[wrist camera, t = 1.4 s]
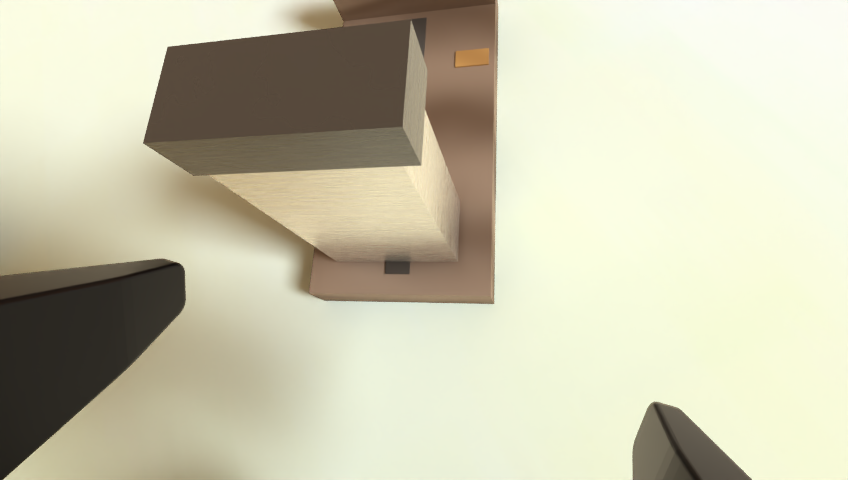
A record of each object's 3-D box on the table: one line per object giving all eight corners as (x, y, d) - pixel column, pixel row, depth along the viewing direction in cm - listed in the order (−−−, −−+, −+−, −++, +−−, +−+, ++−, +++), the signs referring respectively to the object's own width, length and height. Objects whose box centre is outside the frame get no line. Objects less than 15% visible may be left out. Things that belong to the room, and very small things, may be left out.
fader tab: (468, 261, 22) (402, 126, 11) (327, 261, 24) (143, 142, 13) (470, 200, 23) (411, 19, 12) (333, 204, 25) (167, 47, 13)
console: (494, 303, 24) (484, 281, 19) (325, 300, 26) (279, 279, 21) (498, 8, 29) (491, -65, 24) (357, 24, 31) (326, -41, 26)
